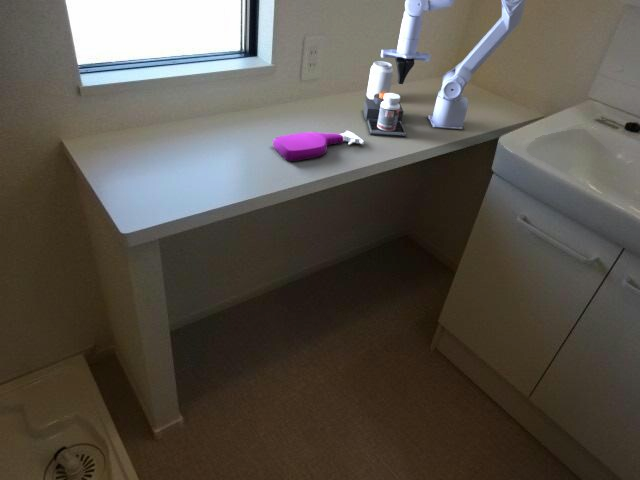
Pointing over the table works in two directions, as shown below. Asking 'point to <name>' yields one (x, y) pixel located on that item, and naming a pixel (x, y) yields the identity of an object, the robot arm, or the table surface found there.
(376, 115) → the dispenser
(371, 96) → the can
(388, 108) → the pill bottle
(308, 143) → the spray bottle
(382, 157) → the table surface
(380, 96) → the button
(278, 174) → the table surface
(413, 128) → the table surface
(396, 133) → the drip tray
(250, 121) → the table surface
